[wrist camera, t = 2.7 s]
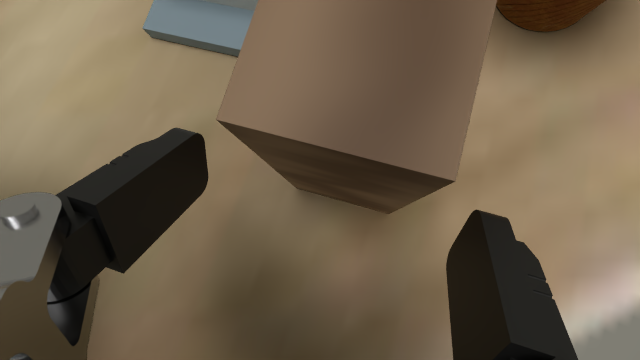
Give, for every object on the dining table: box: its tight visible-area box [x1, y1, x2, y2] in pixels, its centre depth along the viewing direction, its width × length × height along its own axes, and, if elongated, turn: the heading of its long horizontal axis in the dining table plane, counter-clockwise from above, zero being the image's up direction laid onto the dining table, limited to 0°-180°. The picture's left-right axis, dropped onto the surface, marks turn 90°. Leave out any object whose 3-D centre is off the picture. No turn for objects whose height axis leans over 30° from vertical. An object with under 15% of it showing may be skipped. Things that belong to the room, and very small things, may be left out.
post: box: [216, 0, 497, 214], centre depth 14 cm, size 6×6×12 cm
